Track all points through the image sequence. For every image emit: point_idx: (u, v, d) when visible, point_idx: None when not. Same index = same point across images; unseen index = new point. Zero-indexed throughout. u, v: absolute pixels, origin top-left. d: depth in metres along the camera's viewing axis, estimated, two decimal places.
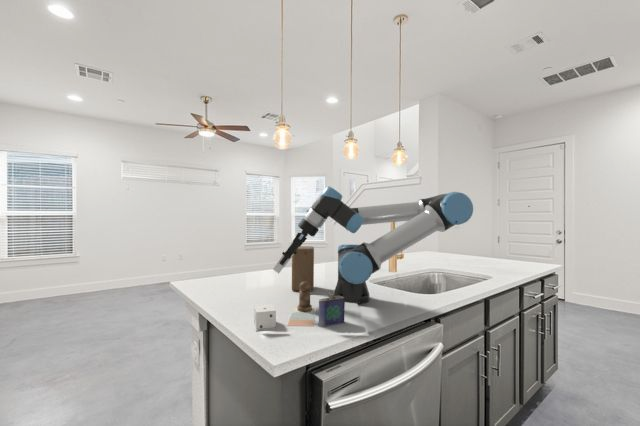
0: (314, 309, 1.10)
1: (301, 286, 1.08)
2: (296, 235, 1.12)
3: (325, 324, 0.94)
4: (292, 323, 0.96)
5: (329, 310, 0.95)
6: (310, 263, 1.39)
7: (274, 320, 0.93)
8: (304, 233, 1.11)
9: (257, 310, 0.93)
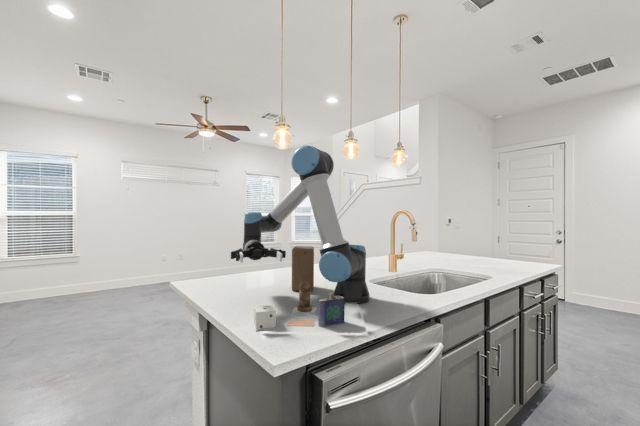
0: (314, 309, 1.10)
1: (301, 286, 1.08)
2: (250, 256, 1.18)
3: (325, 324, 0.94)
4: (292, 323, 0.96)
5: (329, 310, 0.95)
6: (310, 263, 1.39)
7: (274, 320, 0.93)
8: None
9: (257, 310, 0.93)
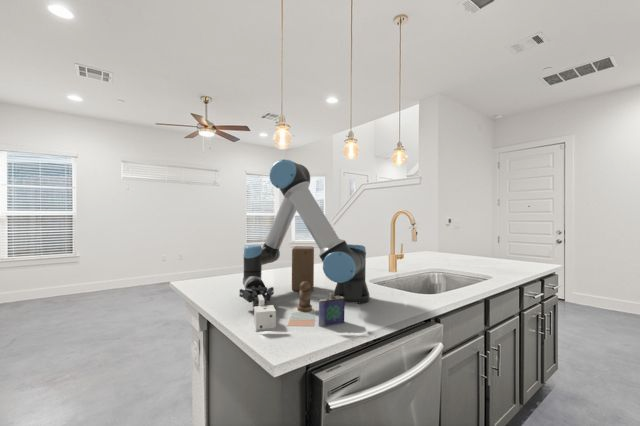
0: (314, 309, 1.10)
1: (301, 286, 1.08)
2: None
3: (325, 324, 0.94)
4: (292, 323, 0.96)
5: (329, 310, 0.95)
6: (310, 263, 1.39)
7: (274, 320, 0.92)
8: None
9: (257, 310, 0.93)
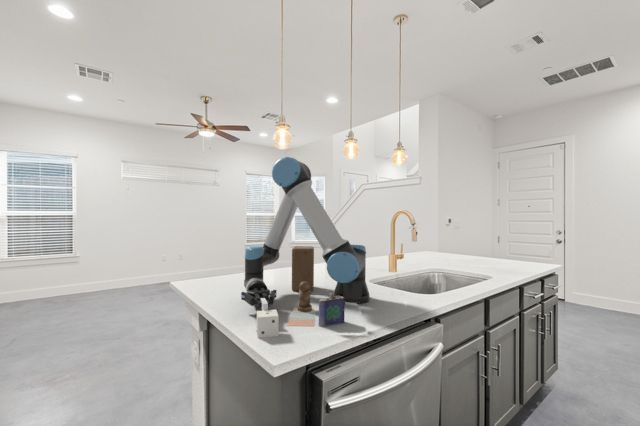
0: (314, 309, 1.10)
1: (301, 286, 1.08)
2: None
3: (325, 324, 0.94)
4: (292, 323, 0.96)
5: (329, 310, 0.95)
6: (310, 263, 1.39)
7: (277, 326, 0.88)
8: None
9: (259, 315, 0.88)
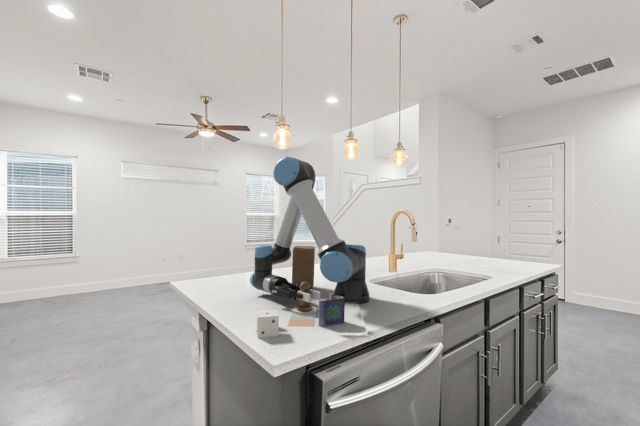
0: (314, 309, 1.10)
1: (302, 286, 1.08)
2: None
3: (325, 324, 0.94)
4: (292, 323, 0.96)
5: (329, 310, 0.95)
6: (310, 263, 1.38)
7: (277, 326, 0.88)
8: (275, 288, 1.17)
9: (259, 315, 0.88)
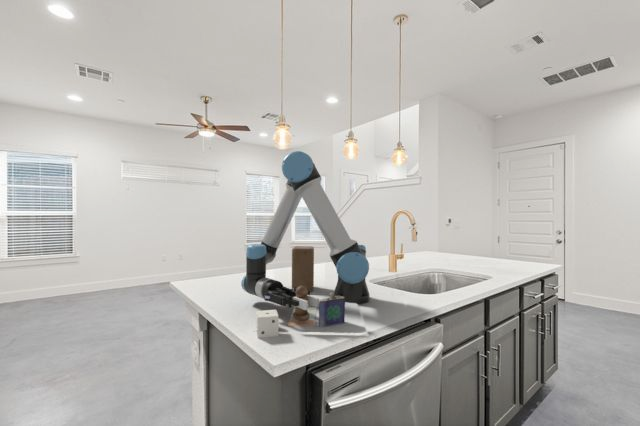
0: (314, 309, 1.10)
1: (298, 291, 0.95)
2: None
3: (325, 324, 0.94)
4: (292, 323, 0.96)
5: (330, 310, 0.95)
6: (310, 263, 1.39)
7: (277, 326, 0.88)
8: (268, 293, 1.04)
9: (259, 315, 0.88)
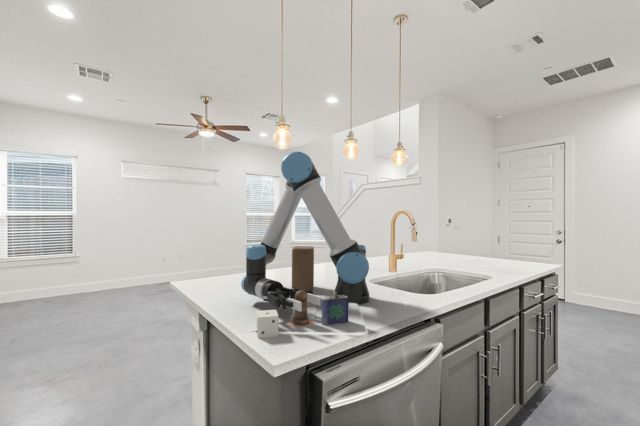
0: (314, 309, 1.10)
1: (297, 296, 0.95)
2: None
3: (328, 323, 0.95)
4: (292, 323, 0.96)
5: (332, 309, 0.96)
6: (310, 263, 1.39)
7: (277, 326, 0.88)
8: None
9: (259, 315, 0.88)
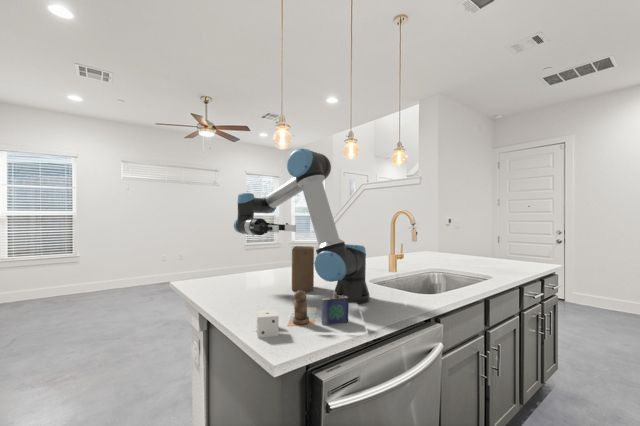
0: (314, 309, 1.10)
1: (296, 296, 0.95)
2: None
3: (328, 323, 0.95)
4: (292, 323, 0.96)
5: (332, 309, 0.96)
6: (310, 263, 1.39)
7: (277, 326, 0.88)
8: None
9: (259, 315, 0.88)
